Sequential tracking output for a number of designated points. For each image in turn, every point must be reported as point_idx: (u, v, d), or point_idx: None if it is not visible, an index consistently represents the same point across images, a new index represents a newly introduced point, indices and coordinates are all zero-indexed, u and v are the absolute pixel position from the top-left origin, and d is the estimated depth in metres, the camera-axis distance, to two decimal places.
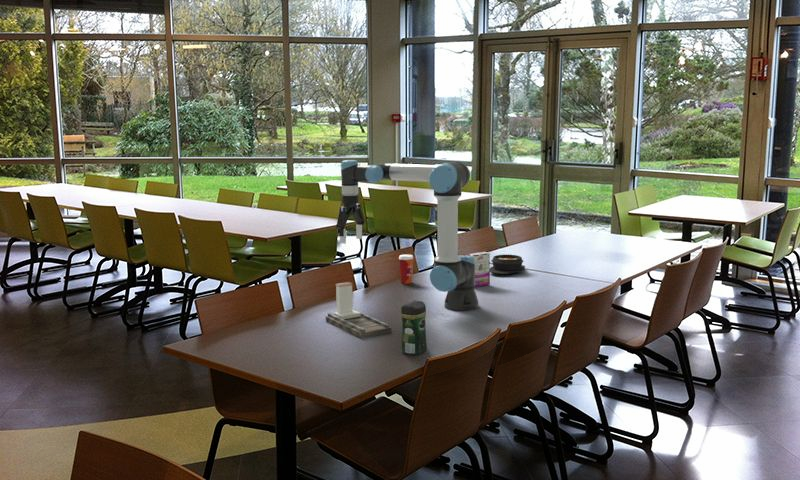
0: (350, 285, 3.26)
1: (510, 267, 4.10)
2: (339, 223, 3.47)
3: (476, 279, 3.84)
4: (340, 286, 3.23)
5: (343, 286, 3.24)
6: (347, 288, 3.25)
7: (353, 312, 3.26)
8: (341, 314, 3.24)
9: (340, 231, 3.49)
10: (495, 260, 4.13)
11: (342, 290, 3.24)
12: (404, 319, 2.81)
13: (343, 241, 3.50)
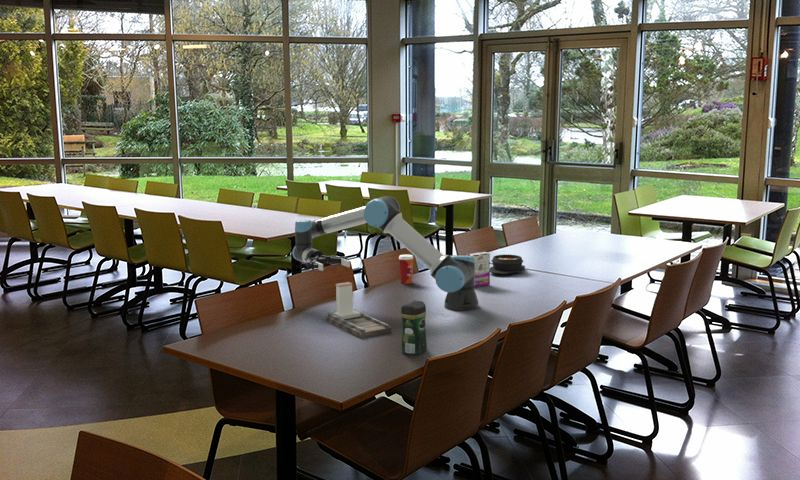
0: (350, 285, 3.26)
1: (510, 267, 4.10)
2: None
3: (476, 279, 3.84)
4: (340, 286, 3.23)
5: (343, 286, 3.24)
6: (347, 288, 3.25)
7: (353, 312, 3.26)
8: (341, 314, 3.24)
9: (313, 265, 3.31)
10: (495, 260, 4.13)
11: (342, 290, 3.24)
12: (404, 319, 2.81)
13: (320, 265, 3.28)
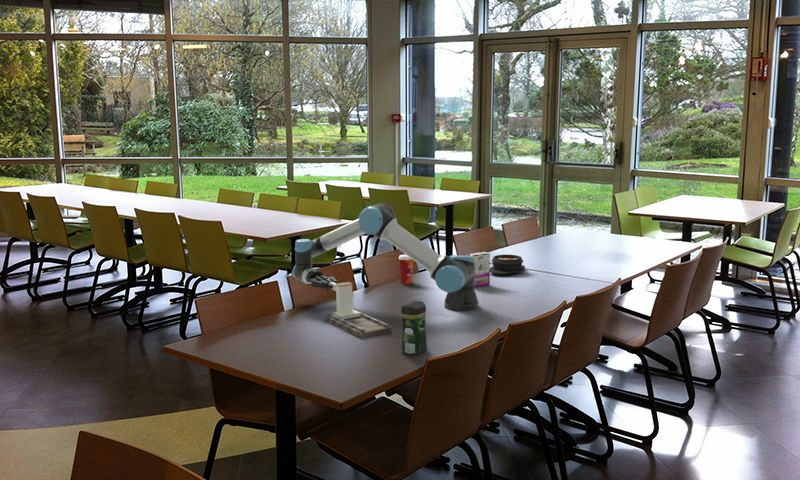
0: (350, 285, 3.26)
1: (510, 267, 4.10)
2: (319, 284, 3.36)
3: (476, 279, 3.84)
4: (340, 286, 3.23)
5: (343, 286, 3.24)
6: (347, 288, 3.25)
7: (353, 312, 3.26)
8: (341, 314, 3.24)
9: (327, 286, 3.34)
10: (495, 260, 4.13)
11: (342, 290, 3.24)
12: (404, 319, 2.81)
13: (335, 286, 3.31)
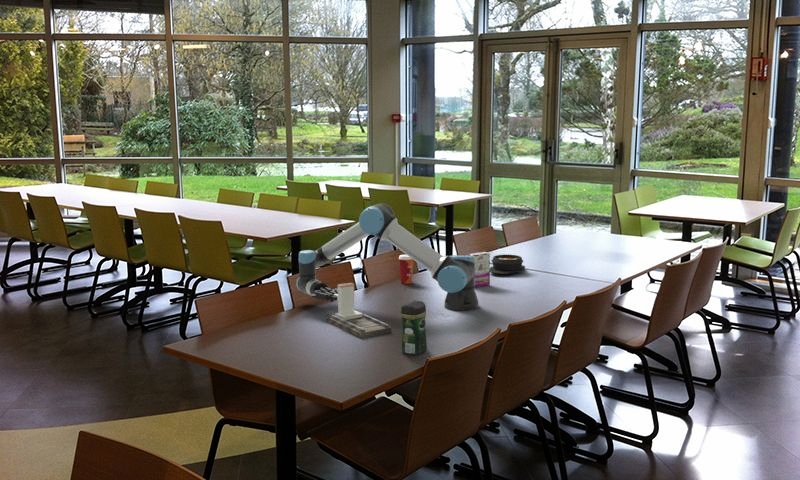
0: (352, 286, 3.25)
1: (510, 267, 4.10)
2: (323, 296, 3.32)
3: (476, 279, 3.84)
4: (342, 287, 3.22)
5: (345, 287, 3.23)
6: (349, 289, 3.24)
7: (355, 313, 3.25)
8: (343, 315, 3.22)
9: (332, 298, 3.31)
10: (495, 260, 4.13)
11: (344, 291, 3.23)
12: (404, 319, 2.81)
13: None
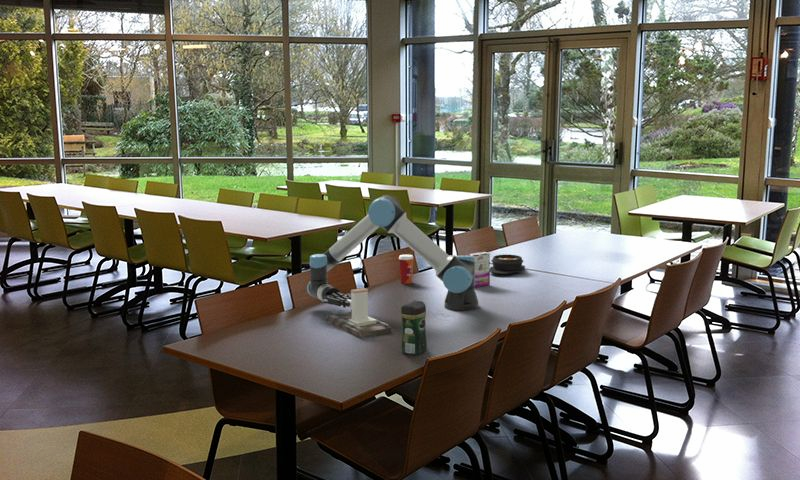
0: (366, 291, 3.15)
1: (510, 267, 4.10)
2: (336, 302, 3.23)
3: (476, 279, 3.84)
4: (355, 292, 3.13)
5: (358, 292, 3.13)
6: (362, 294, 3.15)
7: (369, 319, 3.16)
8: (356, 321, 3.13)
9: (344, 303, 3.21)
10: (495, 260, 4.13)
11: (357, 296, 3.13)
12: (404, 319, 2.81)
13: None
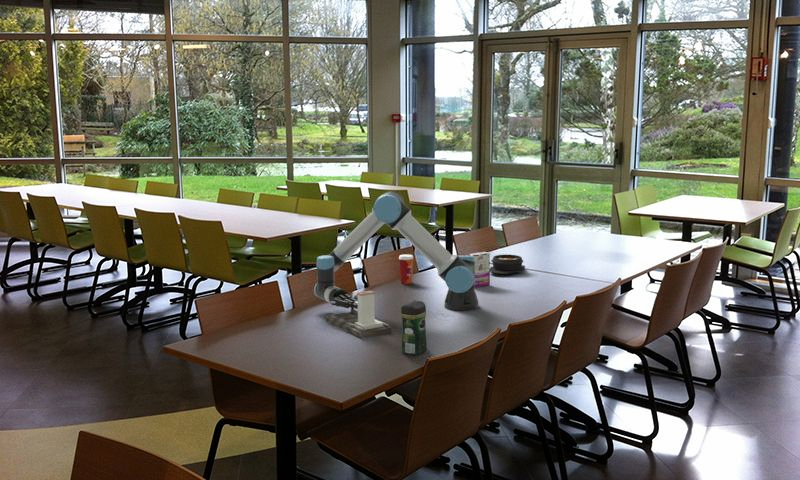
0: (372, 294, 3.11)
1: (510, 267, 4.10)
2: (344, 304, 3.19)
3: (476, 279, 3.84)
4: (362, 295, 3.08)
5: (365, 295, 3.09)
6: (369, 297, 3.10)
7: (375, 322, 3.11)
8: (363, 324, 3.08)
9: (352, 305, 3.17)
10: (495, 260, 4.13)
11: (364, 299, 3.09)
12: (404, 319, 2.81)
13: None
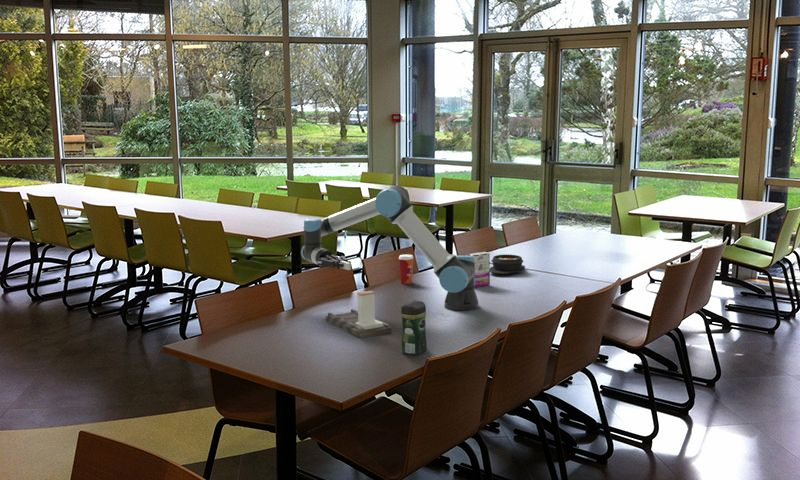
0: (372, 294, 3.11)
1: (510, 267, 4.10)
2: (330, 263, 3.26)
3: (476, 279, 3.84)
4: (362, 295, 3.08)
5: (365, 295, 3.09)
6: (369, 297, 3.10)
7: (375, 322, 3.11)
8: (363, 324, 3.08)
9: (338, 265, 3.24)
10: (495, 260, 4.13)
11: (364, 299, 3.09)
12: (404, 319, 2.81)
13: (346, 265, 3.21)
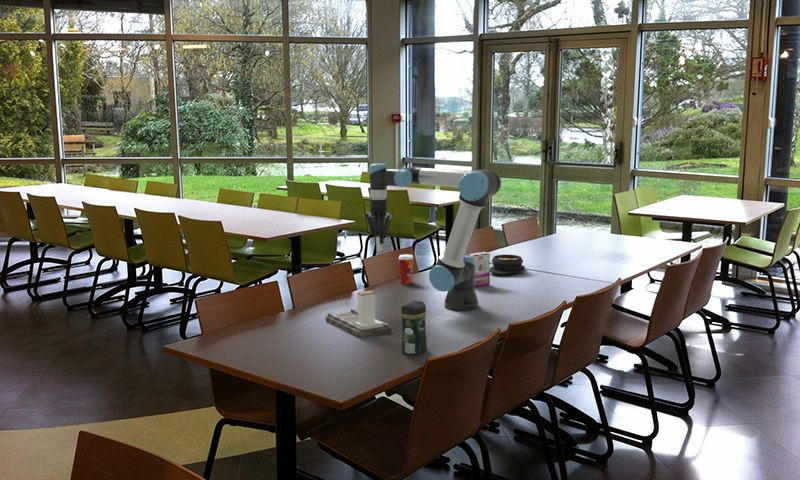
0: (372, 294, 3.11)
1: (510, 267, 4.10)
2: None
3: (476, 279, 3.84)
4: (362, 295, 3.08)
5: (365, 295, 3.09)
6: (369, 297, 3.10)
7: (375, 322, 3.11)
8: (363, 324, 3.08)
9: None
10: (495, 260, 4.13)
11: (364, 299, 3.09)
12: (404, 319, 2.81)
13: None
